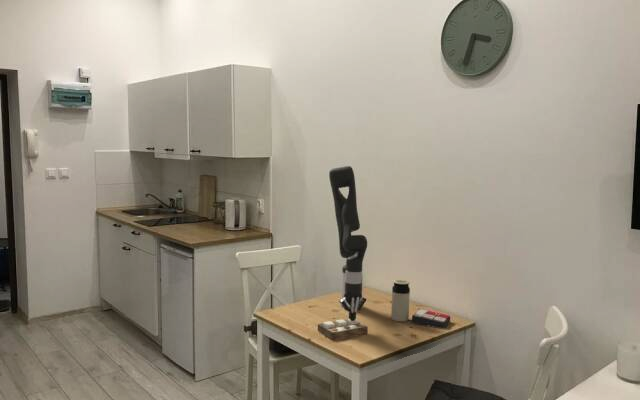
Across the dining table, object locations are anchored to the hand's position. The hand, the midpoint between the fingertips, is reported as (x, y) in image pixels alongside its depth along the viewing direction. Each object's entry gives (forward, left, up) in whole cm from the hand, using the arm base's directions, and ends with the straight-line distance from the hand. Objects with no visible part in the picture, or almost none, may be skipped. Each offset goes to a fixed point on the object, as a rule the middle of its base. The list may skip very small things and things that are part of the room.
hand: (352, 320), depth 232 cm
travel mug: (-28, -3, -4) cm, 28 cm away
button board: (+6, +1, -4) cm, 7 cm away
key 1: (+12, 0, -2) cm, 12 cm away
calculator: (-38, +7, -5) cm, 39 cm away
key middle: (+6, 0, -2) cm, 6 cm away
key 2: (0, 0, -3) cm, 3 cm away
